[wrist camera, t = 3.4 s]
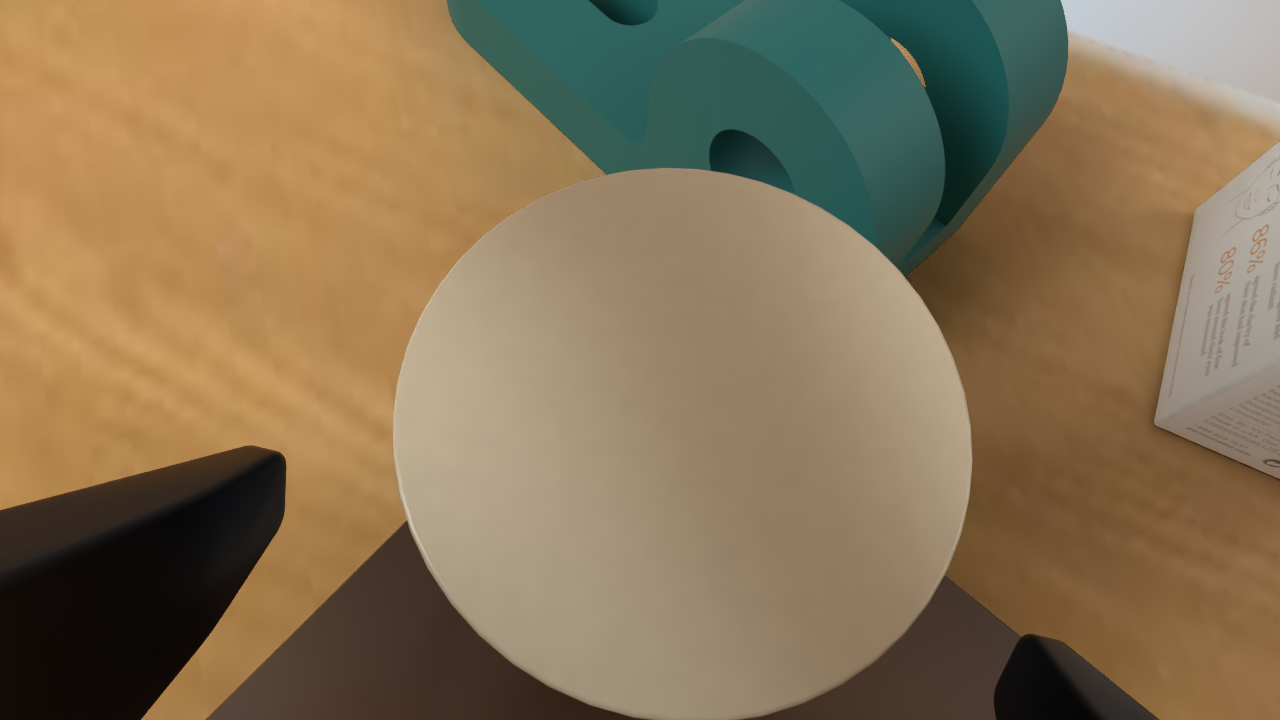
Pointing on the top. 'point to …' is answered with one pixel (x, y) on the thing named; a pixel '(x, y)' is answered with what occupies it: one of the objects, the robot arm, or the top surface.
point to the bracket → (794, 95)
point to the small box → (1230, 324)
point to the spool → (682, 445)
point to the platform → (541, 716)
